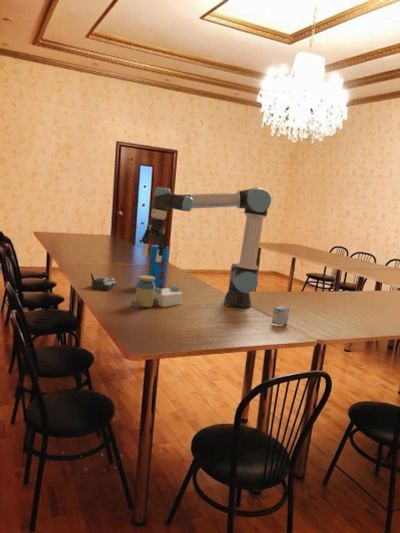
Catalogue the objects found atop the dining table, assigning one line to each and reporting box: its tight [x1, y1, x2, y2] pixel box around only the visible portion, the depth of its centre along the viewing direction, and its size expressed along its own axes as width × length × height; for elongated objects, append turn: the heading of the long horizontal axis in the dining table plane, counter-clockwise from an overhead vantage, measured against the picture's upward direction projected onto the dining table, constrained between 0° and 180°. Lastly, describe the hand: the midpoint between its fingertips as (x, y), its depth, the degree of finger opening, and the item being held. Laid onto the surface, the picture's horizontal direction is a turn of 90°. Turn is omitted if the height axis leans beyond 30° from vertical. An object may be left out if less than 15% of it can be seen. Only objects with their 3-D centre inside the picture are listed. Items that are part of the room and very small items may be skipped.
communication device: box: [90, 273, 116, 291], centre depth 269 cm, size 12×24×9 cm, turn 174°
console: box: [130, 284, 184, 309], centre depth 238 cm, size 12×28×8 cm, turn 138°
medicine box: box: [271, 305, 290, 325], centre depth 223 cm, size 8×4×9 cm, turn 141°
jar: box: [135, 274, 155, 308], centre depth 232 cm, size 9×9×15 cm
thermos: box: [148, 244, 169, 289], centre depth 280 cm, size 11×11×25 cm
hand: (151, 258), depth 236 cm, fingers open, 13 cm apart
